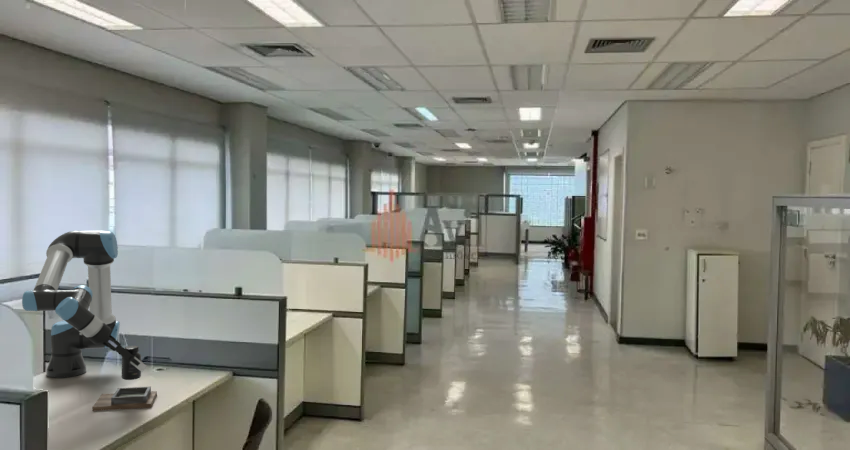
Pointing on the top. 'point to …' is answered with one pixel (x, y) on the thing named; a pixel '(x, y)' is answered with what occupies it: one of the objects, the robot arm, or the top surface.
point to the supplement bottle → (128, 369)
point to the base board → (126, 399)
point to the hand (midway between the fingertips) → (141, 366)
